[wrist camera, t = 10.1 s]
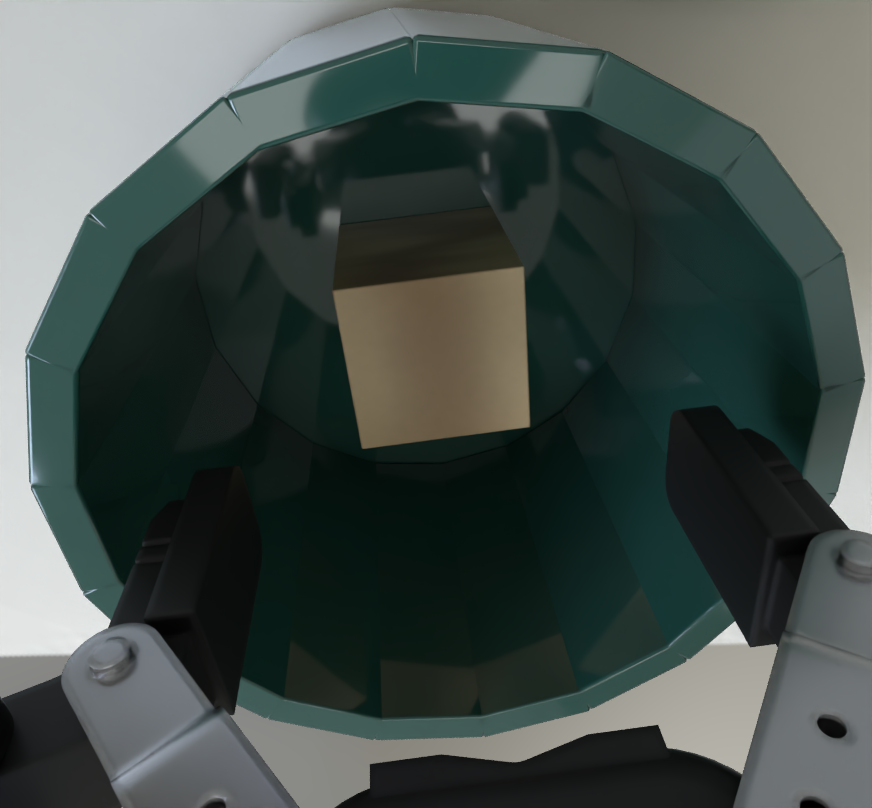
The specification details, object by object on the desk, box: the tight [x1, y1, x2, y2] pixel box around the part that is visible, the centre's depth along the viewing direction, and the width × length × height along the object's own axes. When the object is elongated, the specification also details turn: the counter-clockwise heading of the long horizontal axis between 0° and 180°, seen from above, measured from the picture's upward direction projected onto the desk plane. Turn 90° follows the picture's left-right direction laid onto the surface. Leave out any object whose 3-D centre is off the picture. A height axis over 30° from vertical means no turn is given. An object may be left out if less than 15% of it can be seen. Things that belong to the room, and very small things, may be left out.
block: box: [332, 206, 530, 449], centre depth 19 cm, size 4×4×5 cm
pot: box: [25, 7, 865, 740], centre depth 17 cm, size 15×15×10 cm
